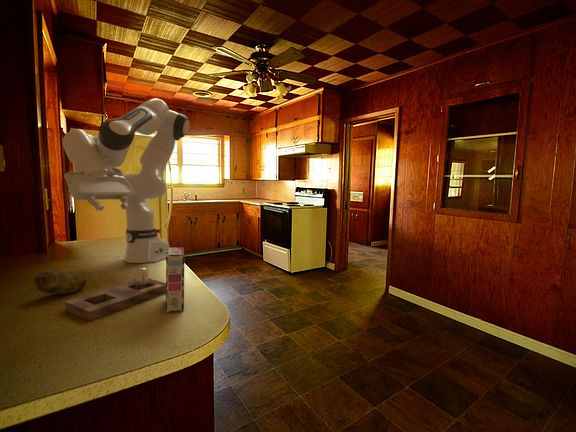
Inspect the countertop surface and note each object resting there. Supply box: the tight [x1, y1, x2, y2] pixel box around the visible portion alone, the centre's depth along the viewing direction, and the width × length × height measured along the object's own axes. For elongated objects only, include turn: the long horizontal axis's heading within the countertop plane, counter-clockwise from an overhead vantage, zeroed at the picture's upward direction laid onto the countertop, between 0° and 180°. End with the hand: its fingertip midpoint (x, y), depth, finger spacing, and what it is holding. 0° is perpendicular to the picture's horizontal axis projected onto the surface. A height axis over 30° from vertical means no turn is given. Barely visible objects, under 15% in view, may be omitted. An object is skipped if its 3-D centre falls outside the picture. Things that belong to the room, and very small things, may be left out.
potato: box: [33, 269, 87, 295], centre depth 92 cm, size 8×13×8 cm, turn 127°
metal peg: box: [133, 266, 149, 290], centre depth 95 cm, size 4×4×8 cm
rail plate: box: [64, 277, 166, 322], centre depth 89 cm, size 25×12×3 cm, turn 152°
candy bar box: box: [165, 246, 185, 313], centre depth 86 cm, size 11×5×16 cm, turn 21°
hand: (113, 208), depth 95 cm, fingers open, 8 cm apart
